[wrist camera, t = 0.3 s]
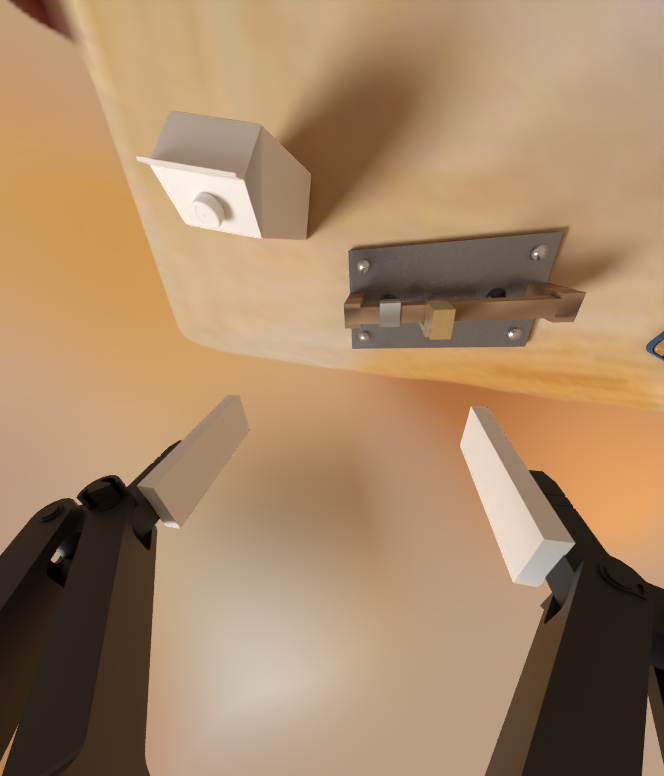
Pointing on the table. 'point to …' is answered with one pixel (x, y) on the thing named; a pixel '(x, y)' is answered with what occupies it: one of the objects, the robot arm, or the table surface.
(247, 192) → the milk carton
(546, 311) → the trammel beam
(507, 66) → the table surface
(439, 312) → the slider
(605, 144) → the table surface
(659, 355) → the smartphone
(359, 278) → the flange plate
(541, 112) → the table surface
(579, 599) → the robot arm
